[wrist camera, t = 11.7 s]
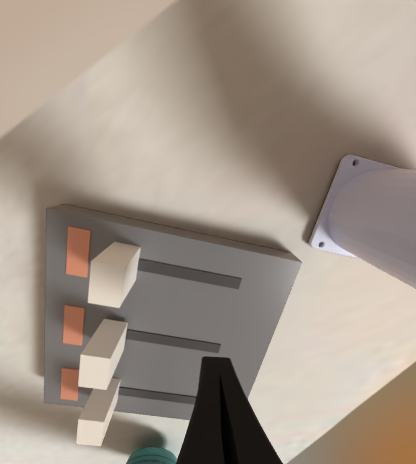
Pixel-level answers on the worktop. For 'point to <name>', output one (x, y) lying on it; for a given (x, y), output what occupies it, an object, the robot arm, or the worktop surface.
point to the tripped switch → (102, 354)
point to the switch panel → (153, 311)
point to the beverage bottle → (152, 456)
